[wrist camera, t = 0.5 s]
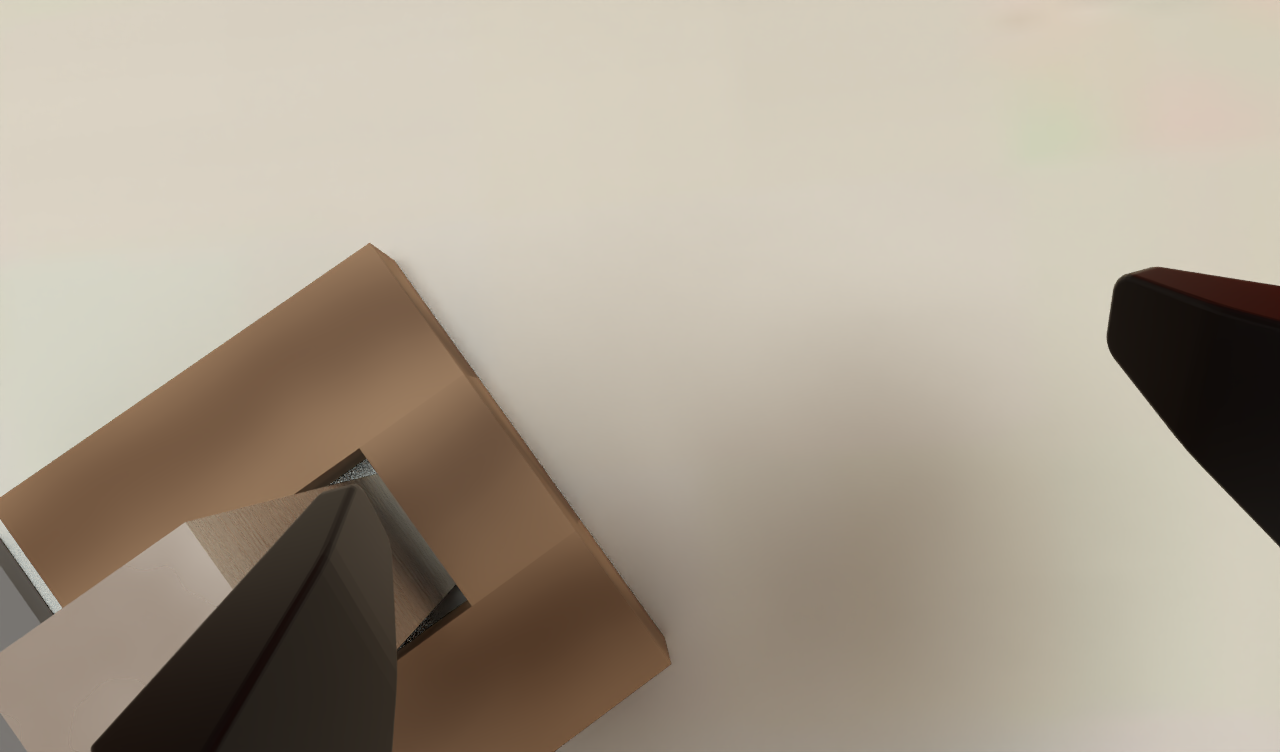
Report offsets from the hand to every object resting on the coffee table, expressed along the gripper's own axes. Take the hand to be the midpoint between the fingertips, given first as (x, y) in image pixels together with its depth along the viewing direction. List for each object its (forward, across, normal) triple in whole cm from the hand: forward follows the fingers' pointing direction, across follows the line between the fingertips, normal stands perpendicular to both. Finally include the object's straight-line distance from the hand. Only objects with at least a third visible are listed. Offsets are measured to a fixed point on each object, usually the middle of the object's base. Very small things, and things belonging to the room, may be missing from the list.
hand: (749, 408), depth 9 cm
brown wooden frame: (+11, +10, +10) cm, 18 cm away
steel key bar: (+11, +10, +10) cm, 18 cm away
